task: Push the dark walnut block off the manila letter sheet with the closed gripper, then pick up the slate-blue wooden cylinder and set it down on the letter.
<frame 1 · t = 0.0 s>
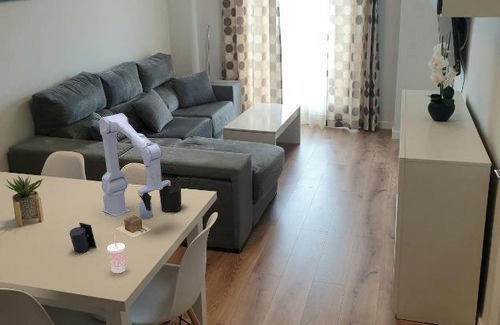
hand: (156, 207, 219), 10 cm above the table, fingers open, 7 cm apart
slate cylinder: (146, 216, 234), on the table
walnut block: (133, 229, 223), resting on letter
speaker: (83, 250, 207), on the table
beverage cup: (118, 270, 193), on the table
letter: (133, 229, 223), on the table
pen holder: (171, 209, 241), on the table
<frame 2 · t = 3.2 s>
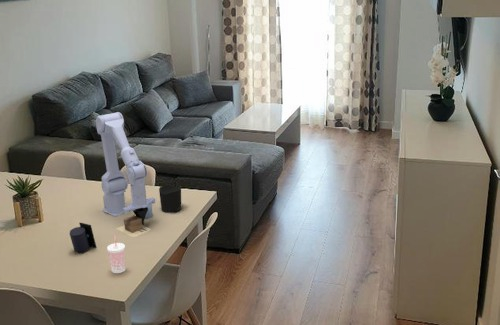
hand: (141, 224, 225), 1 cm above the table, fingers closed
walnut block: (133, 229, 223), resting on letter, touching gripper
everything else where it was.
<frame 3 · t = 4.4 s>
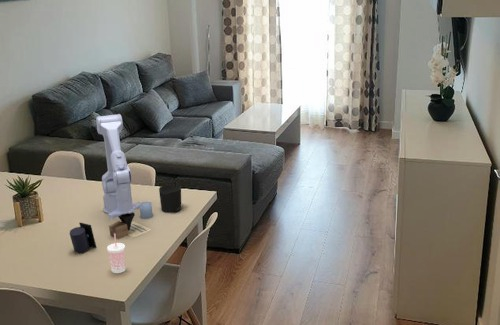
hand: (127, 229, 220), 1 cm above the table, fingers closed
walnut block: (119, 235, 218), on the table, touching gripper
everything else where it was.
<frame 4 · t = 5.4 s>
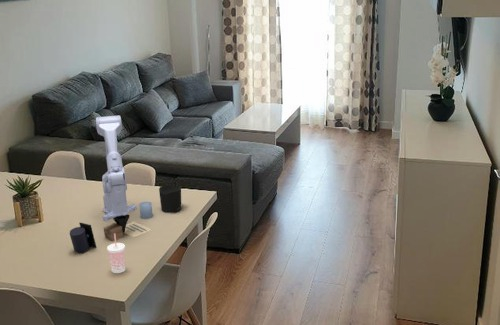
hand: (122, 231, 219), 1 cm above the table, fingers closed
walnut block: (114, 237, 216), on the table, touching gripper
everything else where it was.
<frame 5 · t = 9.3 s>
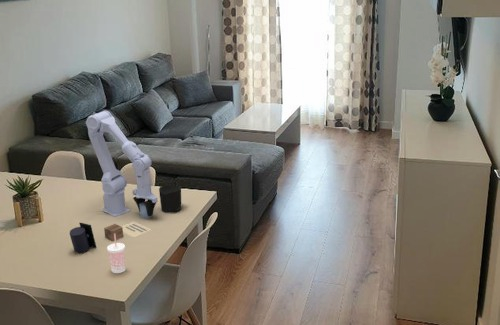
hand: (146, 213, 234), 1 cm above the table, fingers closed on slate cylinder, 5 cm apart
slate cylinder: (146, 216, 234), on the table, touching gripper
walnut block: (114, 237, 216), on the table
everything else where it was.
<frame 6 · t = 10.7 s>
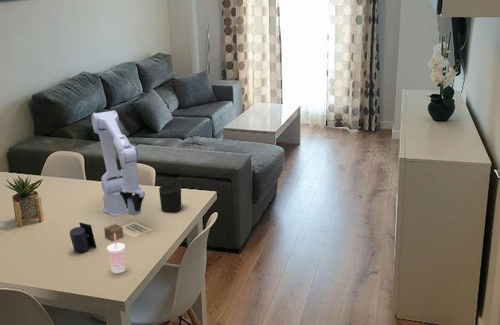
hand: (133, 209, 221), 8 cm above the table, fingers closed on slate cylinder, 5 cm apart
slate cylinder: (134, 212, 222), point 7 cm above the table, touching gripper
everything else where it was.
when the fingers open (3 cm above the table, at t = 12.3 s): slate cylinder drops 1 cm, resting on letter.
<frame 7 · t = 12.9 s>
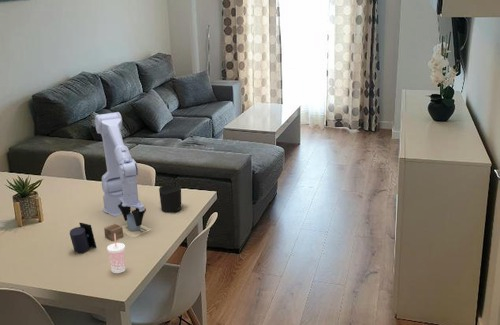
hand: (133, 222, 222), 3 cm above the table, fingers open, 7 cm apart
slate cylinder: (134, 228, 223), resting on letter
everything else where it was.
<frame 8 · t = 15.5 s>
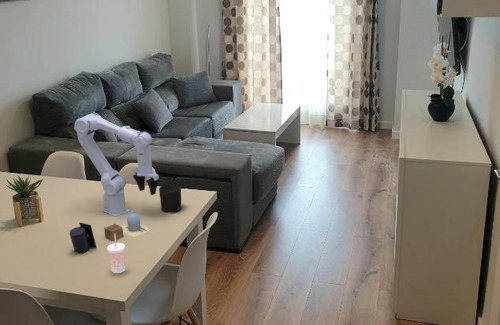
hand: (147, 192, 233), 10 cm above the table, fingers open, 7 cm apart
nothing on the table moved.
at the end: slate cylinder inside the target area on the letter (0.3 cm from its centre), point 0.2 cm above the letter's base; slate cylinder tilted 0°; walnut block inside the target area on the table beside the letter (9.4 cm from its centre), on the table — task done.
